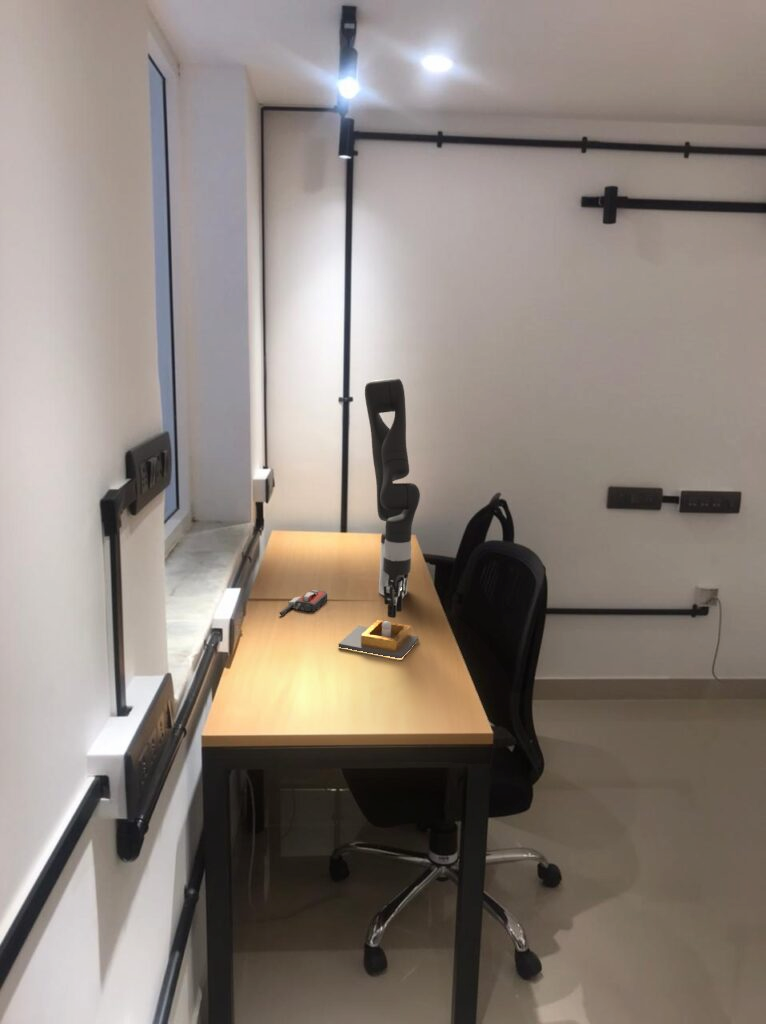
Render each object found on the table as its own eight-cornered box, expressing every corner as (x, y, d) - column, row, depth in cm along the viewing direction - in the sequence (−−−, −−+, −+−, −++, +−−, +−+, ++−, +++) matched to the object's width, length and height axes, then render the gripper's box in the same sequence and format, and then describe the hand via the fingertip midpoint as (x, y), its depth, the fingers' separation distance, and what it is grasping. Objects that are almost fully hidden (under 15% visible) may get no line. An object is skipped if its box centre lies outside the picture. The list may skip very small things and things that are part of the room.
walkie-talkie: (304, 596, 246) (277, 617, 227) (304, 583, 245) (277, 603, 226) (329, 600, 243) (304, 621, 225) (330, 586, 242) (304, 607, 224)
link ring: (377, 629, 217) (377, 619, 216) (410, 636, 213) (411, 625, 212) (360, 645, 206) (361, 634, 205) (395, 652, 202) (396, 641, 202)
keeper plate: (358, 630, 219) (359, 606, 218) (418, 641, 213) (419, 617, 212) (338, 648, 207) (339, 623, 205) (401, 661, 200) (402, 635, 199)
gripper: (393, 546, 216) (390, 603, 220) (375, 560, 203) (372, 620, 207) (418, 550, 213) (415, 607, 218) (401, 564, 200) (399, 625, 205)
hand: (394, 613), depth 212 cm, fingers open, 4 cm apart
